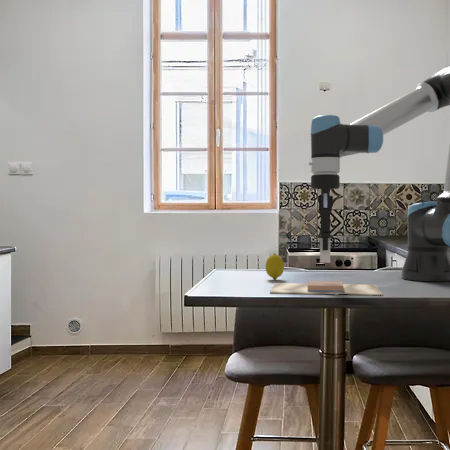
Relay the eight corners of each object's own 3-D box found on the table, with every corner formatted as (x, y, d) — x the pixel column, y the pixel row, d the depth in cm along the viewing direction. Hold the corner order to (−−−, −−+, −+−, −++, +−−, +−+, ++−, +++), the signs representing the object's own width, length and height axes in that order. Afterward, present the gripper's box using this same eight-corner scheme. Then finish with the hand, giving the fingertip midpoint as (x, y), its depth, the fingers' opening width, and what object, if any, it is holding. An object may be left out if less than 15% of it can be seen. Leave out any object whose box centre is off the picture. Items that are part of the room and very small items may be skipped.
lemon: (282, 281, 175) (282, 254, 175) (264, 280, 177) (264, 254, 176) (284, 278, 181) (284, 253, 181) (266, 278, 182) (266, 252, 182)
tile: (342, 281, 158) (343, 285, 149) (342, 287, 158) (343, 292, 149) (308, 281, 159) (307, 285, 150) (308, 286, 159) (307, 291, 150)
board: (376, 286, 163) (376, 284, 163) (382, 295, 145) (382, 294, 145) (275, 284, 168) (275, 283, 168) (269, 293, 150) (269, 291, 150)
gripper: (311, 175, 164) (311, 260, 164) (310, 173, 151) (310, 264, 152) (338, 175, 163) (338, 260, 163) (340, 172, 150) (340, 264, 150)
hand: (325, 262), depth 157 cm, fingers closed
